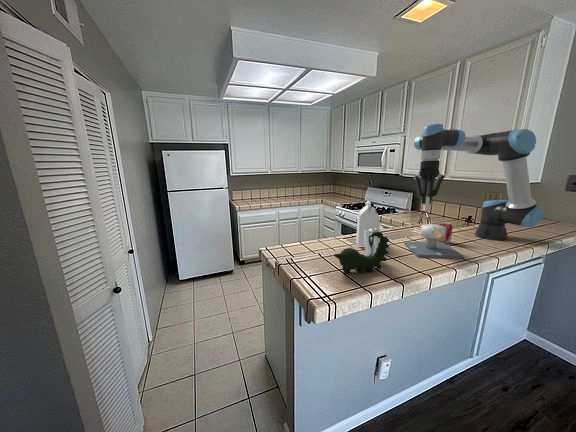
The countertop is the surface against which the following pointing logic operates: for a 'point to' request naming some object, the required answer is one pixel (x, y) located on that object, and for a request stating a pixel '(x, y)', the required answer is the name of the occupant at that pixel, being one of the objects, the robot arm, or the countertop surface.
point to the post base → (432, 249)
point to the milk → (366, 222)
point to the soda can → (446, 231)
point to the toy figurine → (356, 260)
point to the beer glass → (370, 241)
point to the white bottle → (433, 231)
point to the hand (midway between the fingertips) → (425, 210)
